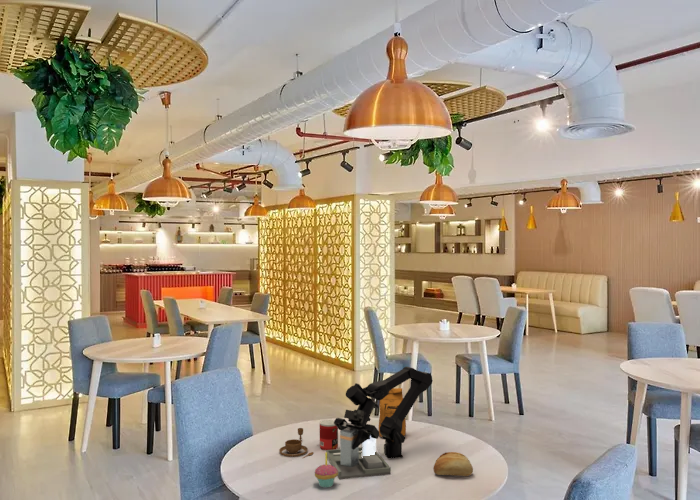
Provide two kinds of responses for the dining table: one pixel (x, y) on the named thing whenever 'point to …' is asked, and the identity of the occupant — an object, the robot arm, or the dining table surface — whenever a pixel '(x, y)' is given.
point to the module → (348, 447)
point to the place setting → (295, 446)
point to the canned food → (328, 435)
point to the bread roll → (453, 465)
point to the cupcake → (326, 474)
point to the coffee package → (391, 406)
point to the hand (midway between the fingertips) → (347, 447)
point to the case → (359, 465)
